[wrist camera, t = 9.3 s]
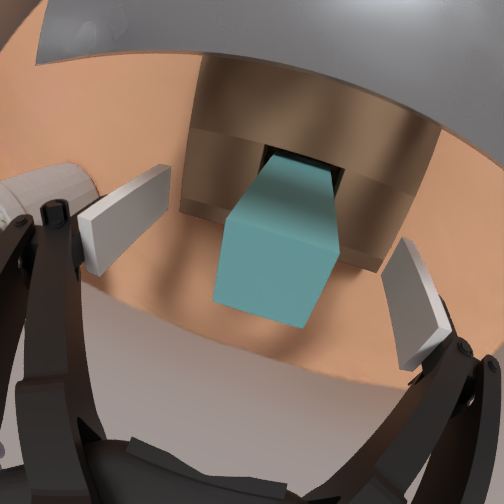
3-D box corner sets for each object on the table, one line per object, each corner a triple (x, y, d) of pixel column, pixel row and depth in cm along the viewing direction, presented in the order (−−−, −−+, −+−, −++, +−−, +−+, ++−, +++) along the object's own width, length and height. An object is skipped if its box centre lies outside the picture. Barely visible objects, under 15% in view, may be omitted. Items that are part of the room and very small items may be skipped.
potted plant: (38, 210, 29) (-64, 297, 12) (58, 124, 21) (-99, 208, 5) (97, 268, 31) (0, 384, 15) (132, 190, 24) (-37, 340, 7)
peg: (264, 197, 21) (212, 301, 12) (276, 149, 19) (225, 218, 9) (313, 212, 21) (302, 328, 11) (329, 165, 19) (339, 253, 9)
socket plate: (192, 199, 23) (179, 211, 21) (227, 12, 14) (215, 3, 12) (372, 255, 22) (376, 273, 20) (441, 77, 13) (456, 76, 11)
